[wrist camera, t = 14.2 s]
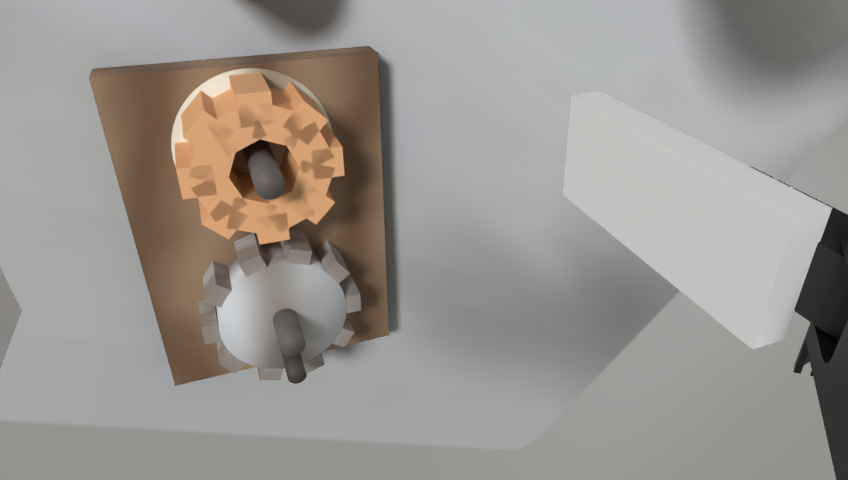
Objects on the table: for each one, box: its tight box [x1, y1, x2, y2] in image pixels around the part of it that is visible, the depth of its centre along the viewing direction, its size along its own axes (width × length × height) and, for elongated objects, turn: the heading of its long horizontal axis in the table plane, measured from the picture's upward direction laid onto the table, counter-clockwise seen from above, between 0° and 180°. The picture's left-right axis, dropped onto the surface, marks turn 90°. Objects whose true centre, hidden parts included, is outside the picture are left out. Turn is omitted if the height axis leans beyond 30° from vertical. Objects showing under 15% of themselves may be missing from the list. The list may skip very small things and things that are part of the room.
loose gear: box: [175, 72, 345, 245], centre depth 35 cm, size 9×9×4 cm
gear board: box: [89, 46, 389, 386], centre depth 38 cm, size 16×22×8 cm
